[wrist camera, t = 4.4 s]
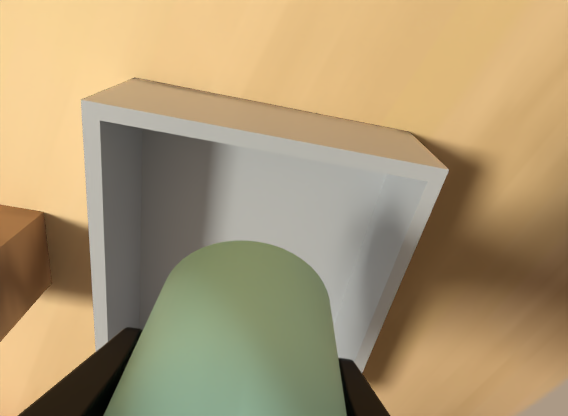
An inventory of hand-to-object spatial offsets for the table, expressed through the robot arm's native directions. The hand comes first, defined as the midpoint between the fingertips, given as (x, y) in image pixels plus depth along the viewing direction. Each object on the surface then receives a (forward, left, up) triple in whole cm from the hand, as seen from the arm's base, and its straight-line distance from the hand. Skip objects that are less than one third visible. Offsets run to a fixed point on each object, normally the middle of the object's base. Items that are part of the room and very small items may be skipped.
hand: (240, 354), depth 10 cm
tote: (-4, 0, -11) cm, 12 cm away
